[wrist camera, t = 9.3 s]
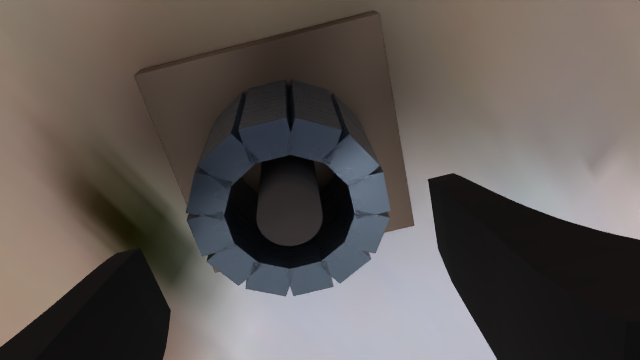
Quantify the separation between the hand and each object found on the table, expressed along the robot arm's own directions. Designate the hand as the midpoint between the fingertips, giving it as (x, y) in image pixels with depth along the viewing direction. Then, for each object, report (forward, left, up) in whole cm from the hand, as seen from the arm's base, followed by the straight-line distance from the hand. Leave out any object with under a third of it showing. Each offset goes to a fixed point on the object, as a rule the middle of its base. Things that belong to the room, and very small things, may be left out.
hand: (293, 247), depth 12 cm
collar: (0, 0, -6) cm, 6 cm away
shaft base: (0, 0, -6) cm, 6 cm away
